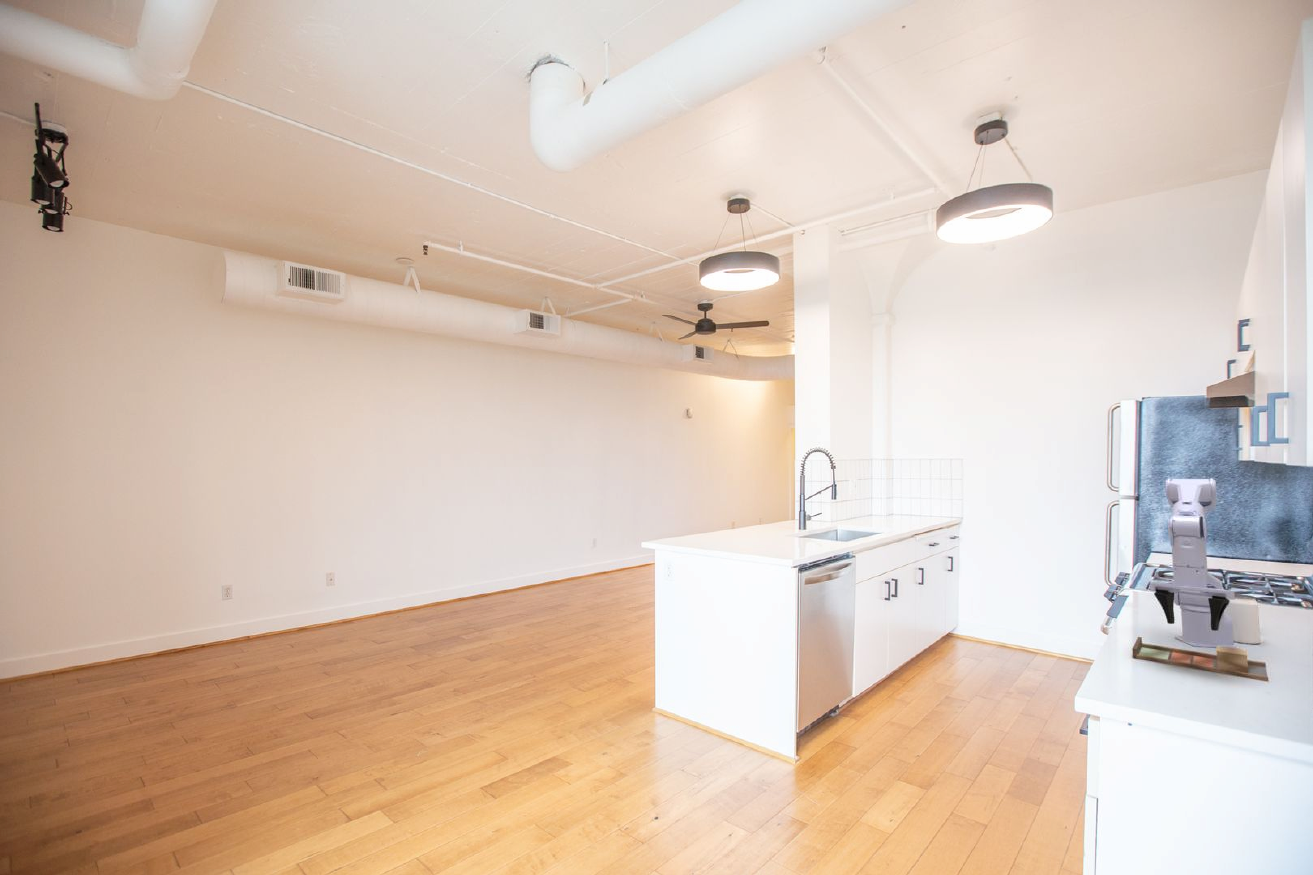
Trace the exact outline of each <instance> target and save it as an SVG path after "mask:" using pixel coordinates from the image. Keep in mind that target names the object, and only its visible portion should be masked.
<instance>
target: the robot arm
mask: <svg viewBox="0 0 1313 875" xmlns="http://www.w3.org/2000/svg"><path fill="white" fill-rule="evenodd" d="M1165 498H1166V500H1167V502H1168V505H1169V506H1170V508H1171V509H1172V512H1171V516H1170V517H1168V519H1167V532H1168V537H1169V541H1170V543H1169V544H1170V547H1171V556H1172V559H1171V560H1172V574H1173V575H1172V576H1173V583H1167V582H1166V583H1165V582H1156V581H1149V590H1150V591H1154V592H1153V593H1154V597H1155V598H1156V599H1157V601H1158V603H1159V605H1160V606H1161V608H1162V610H1163V612H1164V615H1165V618H1166V621H1167V624H1168V625H1173V624H1175V611H1174V604H1175V605H1176V606H1178V607H1179V609H1180V614H1181V630H1182V636H1181V635H1180V636H1178V635H1174V639H1176V640H1178V641H1180V642H1183V643H1185V644H1188V645H1190V646H1192V647H1197V648H1216V649H1217V646H1222V647H1229V648H1236V649H1237V646H1236V645H1235V644H1234V643H1235V642H1234V638H1233V624H1232V620H1231V618H1230V616H1229V615H1228V614H1227V613H1226V612H1225V609H1226V607H1227V605H1228V604H1229V602H1230V601H1229V600H1228V599H1230V600H1234V599H1235V594H1236V593H1235V590H1231V589H1230V590H1229V589H1224V588H1223V582H1222V581H1221V579H1219V578H1218V577H1216V576H1214V575H1213V574H1210V573H1209V572H1208V559H1207V541H1206V539H1207V533H1208V532H1207V524H1206V522H1207V521H1206V519H1205V518H1206V515H1207V513H1208V512H1209V511H1213V510H1215V509H1216V508H1217V504H1218V503H1217V502H1218V500H1217V499H1218V494H1217V481H1216V480H1215V479H1214V478H1169V477H1168V478H1167V479H1166V480H1165Z"/></svg>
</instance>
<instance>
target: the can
mask: <svg viewBox="0 0 1313 875" xmlns="http://www.w3.org/2000/svg"><path fill="white" fill-rule="evenodd" d="M1234 594H1235V599H1234V600H1230V599H1228V600H1229V601H1230V602H1229V604H1228V605H1227V607H1226V609H1225V610H1224V612H1226V613H1227V614H1228V615H1229V616H1230V618H1231V620H1232V624H1233V638H1234V643H1237V642H1241V643H1240V644H1243V643H1248V644H1247V645H1259V644H1260V643H1261V628H1260V627H1261V626H1260V614H1259V613H1260V612H1259V604H1258V601H1257V600H1256V597H1255V596H1253V595H1248V594H1242V593H1234Z"/></svg>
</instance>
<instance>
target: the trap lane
mask: <svg viewBox="0 0 1313 875" xmlns="http://www.w3.org/2000/svg"><path fill="white" fill-rule="evenodd" d="M1136 638H1137V639H1136V641H1135V642H1134V645H1133V647H1132V658H1133V659H1134V660H1135V659H1136V660H1140V661H1147V662H1152V663H1159V664H1164V665H1170V666H1176V667H1182V668H1186V669H1187V668H1189V669H1193V670H1200V671H1205V672H1210V673H1216V674H1217V673H1218V674H1221V675H1222V674H1223V675H1228V676H1234V677H1239V678H1245V679H1249V680H1250V679H1251V680H1256V681H1262V682H1269V676H1268V672H1267V667H1266V666H1267V665H1266V662H1265V661H1257V660H1251V659H1247V661H1248V673H1244V672H1238V671H1232V670H1226V669H1221V668H1218V665H1217V654H1213V653H1206V652H1202V651H1195V650H1194V651H1193V650H1189V649H1182V648H1181V649H1180V648H1175V647H1169V646H1161V645H1156V644H1150V643H1144V642H1143V637H1141V636H1137V637H1136Z"/></svg>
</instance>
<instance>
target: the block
mask: <svg viewBox="0 0 1313 875" xmlns="http://www.w3.org/2000/svg"><path fill="white" fill-rule="evenodd" d="M1216 655H1217V665H1218V668H1221V669H1226V670H1232V671H1238V672H1244V673H1248V661H1247V660H1248V650H1247V649H1241V648H1237V647H1236V648H1229V647H1222V646H1217V648H1216Z"/></svg>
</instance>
